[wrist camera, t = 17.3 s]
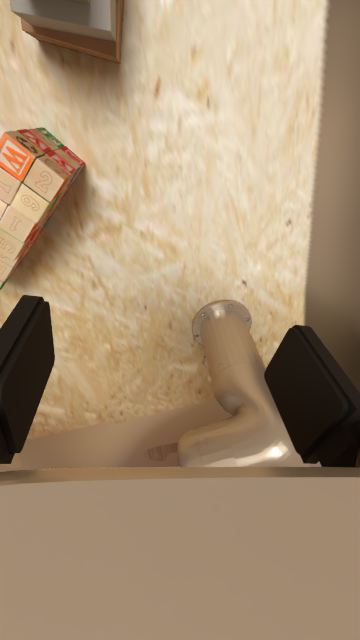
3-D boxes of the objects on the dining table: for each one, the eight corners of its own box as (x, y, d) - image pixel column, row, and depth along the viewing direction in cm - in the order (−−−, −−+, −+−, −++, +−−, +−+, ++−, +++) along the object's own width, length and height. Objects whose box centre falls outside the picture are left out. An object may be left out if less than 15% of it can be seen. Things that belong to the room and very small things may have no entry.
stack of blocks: (18, 268, 46) (-16, 309, 37) (-21, 245, 43) (-70, 283, 34) (86, 162, 38) (65, 180, 28) (43, 124, 35) (2, 130, 25)
